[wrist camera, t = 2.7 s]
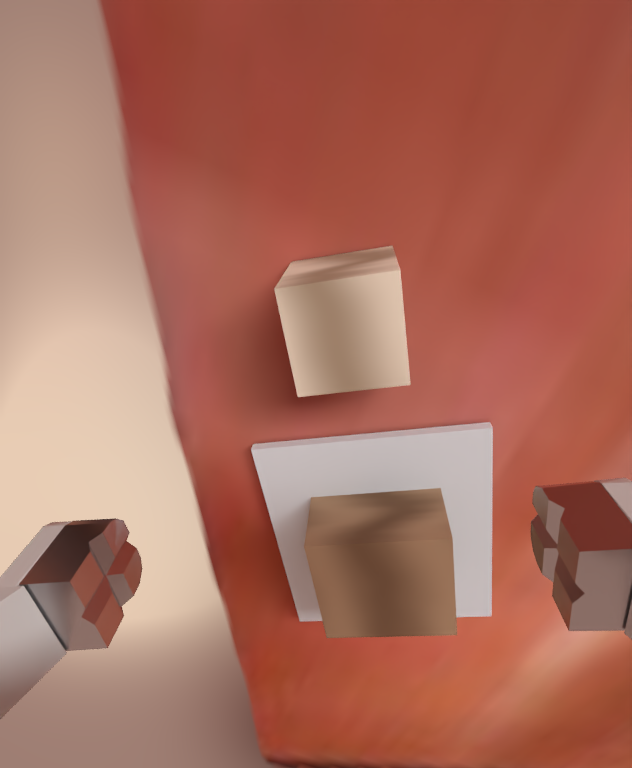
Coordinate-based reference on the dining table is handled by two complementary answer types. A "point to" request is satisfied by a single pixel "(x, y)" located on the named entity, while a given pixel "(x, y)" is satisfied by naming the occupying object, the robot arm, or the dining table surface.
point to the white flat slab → (386, 474)
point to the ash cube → (344, 322)
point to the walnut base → (382, 564)
